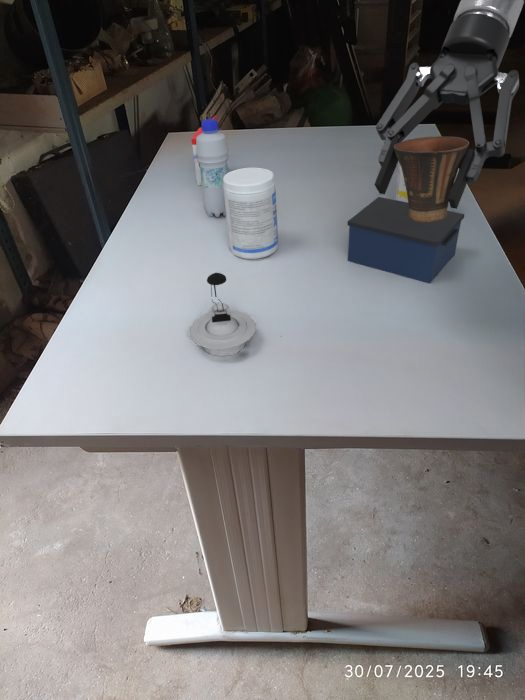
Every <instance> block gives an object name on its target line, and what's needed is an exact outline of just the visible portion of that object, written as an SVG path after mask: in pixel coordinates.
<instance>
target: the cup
mask: <svg viewBox="0 0 525 700" xmlns="http://www.w3.org/2000/svg"><path fill="white" fill-rule="evenodd" d="M469 146H470V141H469V140H468V139H466V138H464V137H459V136H447V135H446V136H445V135H440V136H439V135H438V136H422V137H416V138H415V137H414V138H410V139H409V138H408V139H404V140H403V141H402V142H400V143H397V144H396V145H394V151H395V154H396V156H397V158H398V164H399V163H400V166H401V169H402V172H403V176H404V181H405V186H406V191H407V197H408V205H409V218H410V219H411V220H413V221H416V222H434V221H439V220H442V219H444V218H445V217H446V216H447V211H448V207H449V201H448V197H449V194H450V192H451V189H452V187H453V184H454V182H455V179H456V177H457V174H458V172H459V169H460V167H461V164H462V162H463V159H464V156H465V154H466V151H467V149H469Z"/></svg>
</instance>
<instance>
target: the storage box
mask: <svg viewBox="0 0 525 700" xmlns="http://www.w3.org/2000/svg"><path fill="white" fill-rule="evenodd" d="M463 219H465V213H461V212H457V211H452V210H447V216H446V217H445V218H444V219H442V220H439V221H434V222H416V221H413V220H411V219H410V218H409V205H408V203H407V202H402V201H397V200H395V199H392V198H387V197H383V196H382V197H381V196H377V198H375V199H373V200H372V202H370V203H369V204H367V205H366V206H365V207H364V208H362V209H361V210H360V211H358V212H357V213H356V214H355V215H353V216H352V217H351V218H350V219H348V220H347V225H346V226H347V227H348V226H349V228H348V247H347V262H349V263H354V264H357V265H361V266H364V267H368V268H372V269H375V270H380V271H383V272H386V273H390V274H395V275H397V276H402V277H405V278H408V279H412V280H416V281H420V282H424V283H427V284H432V282H433V281H434V280H435V279H436V277H437V276H438V275H439V274H440V273H441V271H442V270H443V269H444V268H445V267H446V266H447V264H448V263H450V261H451V260H452V259H453V258H454V256H455V255H456V250H457V245H458V239H459V234H460V229H461V223H462V221H464V220H463Z"/></svg>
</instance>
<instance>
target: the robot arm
mask: <svg viewBox="0 0 525 700" xmlns="http://www.w3.org/2000/svg"><path fill="white" fill-rule="evenodd" d="M524 4H525V0H460V1H459V3H458V6H457V9H456V11H455V14H454V17H453V20H452V23H451V24H450V26H449V29H448V31H447V34H446V36H445V38H444V41H443V44H442V46H441V49H440V53H439V55H438V58H437V59H436V60H435V62H434V63H432V64H431V66H420V65H419V63H418V62H412V63H411V64H410V65H409V67H408V71H407V75H406V77H405V80H404V82H403V83H402V85H401V86H400V88H399V90H398V91H397V93H396V94H395V95H394V97H393V99H392V100H391V101H390V103H389V105H388V106H387V108H386V110H385V111H384V112H383V114H382V115H381V117H380V119H379V120H378V122H377V124H376V125H375V129H376V132H377V134H378V136H379V138H380V140H381V141H384V142H383V145H382V148H381V150H380V153H379V155H378V157H377V159H378V164H379V165H380V168H379V169H380V170H379V171H378V174H377V176H376V179H375V182H374V187H375V188H376V191H378V193H379V194H381V195H386V193H387V190H388V188H389V185H390V182H391V181H392V178H393V175H394V173H395V170H396V168H397V165H398V164H399V161H398V158H397V156H396V154H395V151H394V145H396V144H397V143H400V142H402V141H405V140H406V138H407V137H408V136H409V135H410V134H411V133H412V132H413V131H414V130H415V129H416V127H418V126H419V125H420V123H421V122H423V121H424V120H425V119H426V118H427V116H428V115H429V114H430V113H432V111H434V110H437V109H438V108H439V107H440V106H441V105H442V104H454V103H456V104H457V105H460V106H461V105H462V106H467V105H468V104H469V110H470V119H471V123H472V125H471V126H472V133H473V139H474V147H475V148H474V149H473V148H468V149H467V151H466V153H465V155H464V157H463V159H462V161H461V163H460V166H459V168H458V171H457V174H456V178H455V181H454V184H453V187H452V189H451V192H450V194H449V197H448V201H449V203H448V205H449V207H450V208H451V209H453V210H457V209H458V206H459V204H460V202H461V200H462V197H463V195H464V192H465V189H466V187H467V185H468V183H475V182H476V181H477V180H478V178H479V176H480V173H481V171H482V168H483V167H484V163H485V161H486V159H489V158H490V157H491V158H492V157H496V158H501V157H503V156H504V155H505V153H506V145H507V138H508V132H509V131H508V130H509V123H510V117H511V109H512V103H513V99H514V98H515V95H516V94H517V92H518V90H519V87H520V76H519V71H518V70H517V69H511V70H510V71H509V72H508V73H506V72H501V71H499V68H500V65H501V62H502V60H503V57H504V55H505V52H506V50H507V47H508V45H509V43H510V38H511V37H512V36H513V32H514V31H515V27H516V25H517V22H518V19H519V17H520V14H521V12H522V9H523V7H524ZM428 79H431V82H430V83H429V84H428V85H427V86H426V88H425V89H424V92H423V93H422V95H421V96H420V97H418V99H417V100H416V101H415V102H414V103H413V104H412V102H413V100H415V98H416V96H417V94H418V92H419V90H420V88H422V87H424V85H425V83H426V82H427V81H428ZM495 85H497V92H498V94H499V95H498V101H497V110H496V117H495V124H494V130H493V137H492V140H490V141H486V140H487V139H486V133H485V127H484V119H483V112H482V104H481V98H480V97H481V96H482V95H483V94H485V93H486V92H487V91H489V90H490V89H491V88H493V87H494V86H495ZM411 104H412V105H411Z"/></svg>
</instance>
